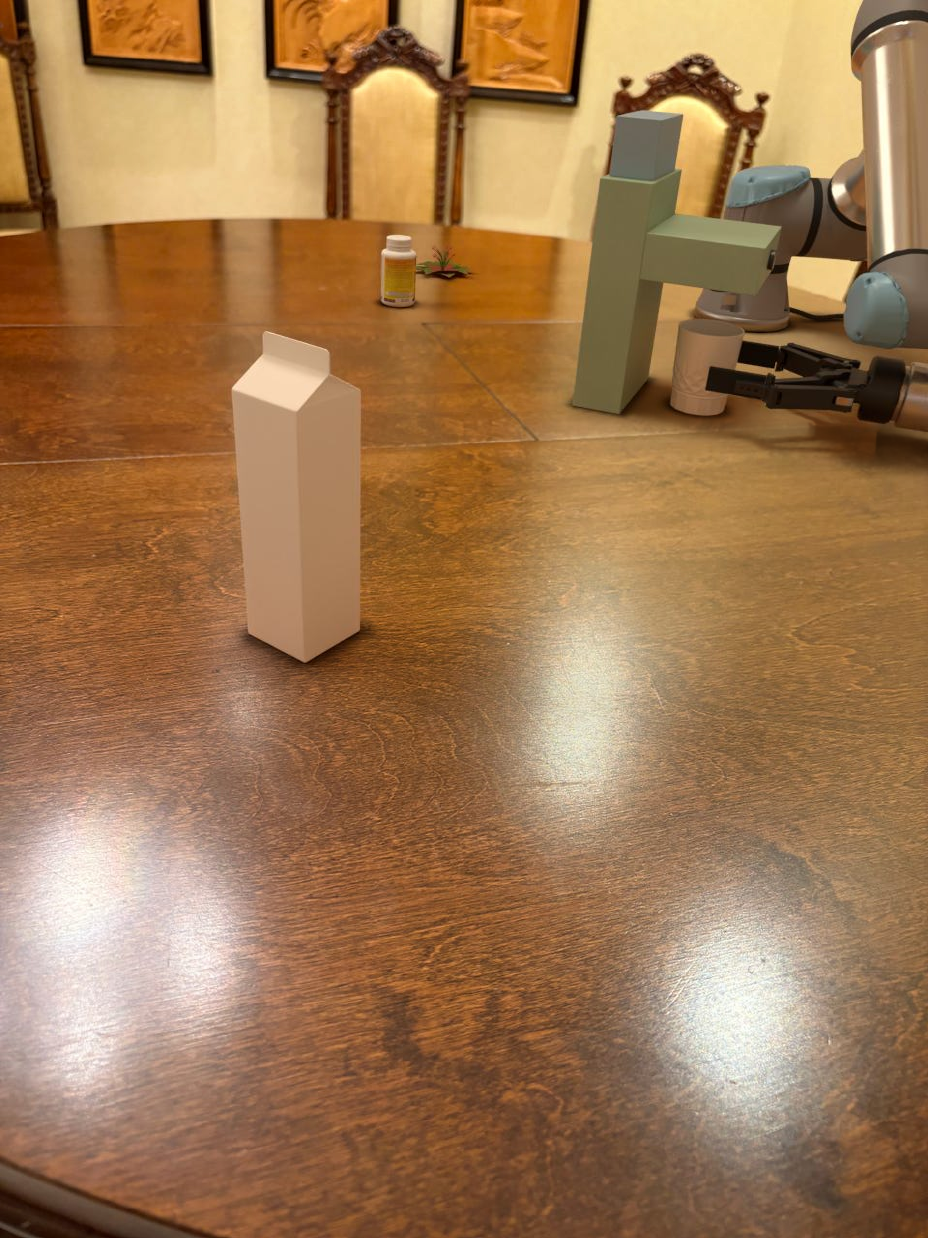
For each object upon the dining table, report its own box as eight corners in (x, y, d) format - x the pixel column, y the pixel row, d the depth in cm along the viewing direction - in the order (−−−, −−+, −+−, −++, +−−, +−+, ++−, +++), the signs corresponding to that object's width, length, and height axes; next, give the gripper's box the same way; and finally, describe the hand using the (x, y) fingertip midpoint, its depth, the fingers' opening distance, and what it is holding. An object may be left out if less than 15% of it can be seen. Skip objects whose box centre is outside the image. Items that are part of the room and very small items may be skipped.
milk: (304, 604, 76) (295, 321, 65) (361, 631, 74) (363, 340, 62) (246, 634, 72) (226, 337, 61) (304, 665, 69) (295, 359, 58)
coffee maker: (749, 396, 127) (809, 124, 110) (731, 435, 114) (795, 134, 98) (605, 371, 133) (641, 108, 116) (572, 405, 120) (607, 116, 103)
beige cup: (729, 421, 118) (746, 339, 113) (664, 413, 120) (678, 332, 114) (727, 400, 125) (743, 322, 120) (665, 393, 126) (679, 315, 121)
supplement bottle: (420, 306, 156) (422, 240, 151) (388, 308, 154) (389, 241, 149) (406, 298, 161) (408, 233, 155) (375, 300, 158) (376, 234, 153)
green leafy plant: (486, 273, 180) (488, 247, 178) (451, 283, 171) (453, 256, 169) (433, 262, 185) (434, 237, 183) (396, 272, 176) (397, 245, 174)
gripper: (909, 335, 121) (737, 309, 127) (909, 392, 101) (705, 358, 107) (891, 393, 125) (725, 366, 131) (888, 459, 105) (693, 423, 111)
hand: (716, 362), depth 119 cm, fingers open, 13 cm apart
